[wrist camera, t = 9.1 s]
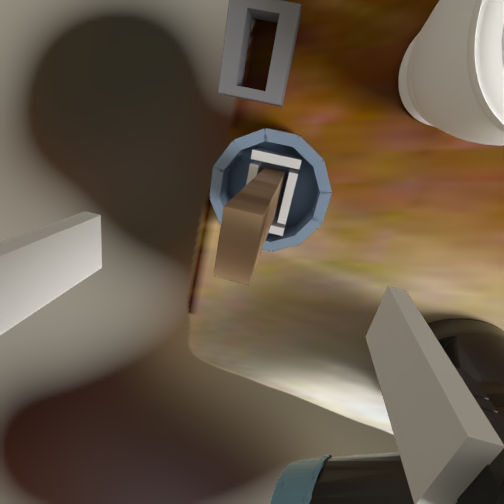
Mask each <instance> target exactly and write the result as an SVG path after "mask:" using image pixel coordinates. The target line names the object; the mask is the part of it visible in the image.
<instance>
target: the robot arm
mask: <svg viewBox="0 0 504 504" xmlns="http://www.w3.org/2000/svg"><path fill="white" fill-rule="evenodd" d="M100 268H102V250H101V216H100V215H98V214H93V213H89V212H86V211H85V212H82V213H80V214H77V215H74V216H71V217H68V218H66V219H63V220H60V221H57V222H55V223H52V224H49V225H47V226H44V227H41V228H38V229H35V230H32V231H30V232H27V233H24V234H21V235H19V236H16V237H13V238H10V239H8V240H5V241H2V242H0V335H2V334H3V333H4V332H6V331H8V330H9V329H11V328H12V327H14V326H15V325H17V324H18V323H20V322H21V321H22V320H24V319H26V318H27V317H29V316H30V315H32V314H33V313H35V312H36V311H38V310H39V309H41V308H42V307H44V306H45V305H47V304H48V303H50V302H51V301H53V300H54V299H56V298H57V297H58V296H60V295H62V294H63V293H65V292H66V291H68V290H69V289H71V288H72V287H74V286H75V285H76V284H78V283H80V282H81V281H83V280H84V279H86V278H87V277H89V276H90V275H92V274H93V273H94V272H96V271H97V270H99V269H100ZM366 340H367V344H368V347H369V351H370V354H371V358H372V361H373V364H374V368H375V371H376V375H377V378H378V382H379V385H380V388H381V392H382V395H383V399H384V402H385V406H386V409H387V412H388V416H389V419H390V423H391V426H392V430H393V433H394V436H395V440H396V443H397V446H398V450H399V452H398V453H382V454H366V455H349V456H333V457H332V456H331V455H324V456H323V457H322V458H314V459H306V460H299V461H295V462H292V463H291V464H289V465H288V466H287V467H286V468H285V469H284V470H283V472H282V473H281V475H280V477H279V479H278V481H277V484H276V487H275V490H274V494H273V496H272V500H271V504H504V331H503V330H501V329H499V328H497V327H495V326H493V325H491V324H488V323H485V322H481V321H476V320H469V319H449V320H442V321H437V322H433V323H429V324H427V323H426V321H425V319H424V318H423V316H422V315H421V313H420V312H419V310H418V308H417V307H416V305H415V304H414V302H413V301H412V299H411V297H410V296H409V294H408V293H407V291H405V290H401V289H397V288H393V287H389V286H388V287H387V290H386V292H385V294H384V296H383V299H382V301H381V303H380V305H379V307H378V310H377V312H376V314H375V316H374V319H373V321H372V323H371V325H370V328H369V330H368V332H367V334H366Z"/></svg>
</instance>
